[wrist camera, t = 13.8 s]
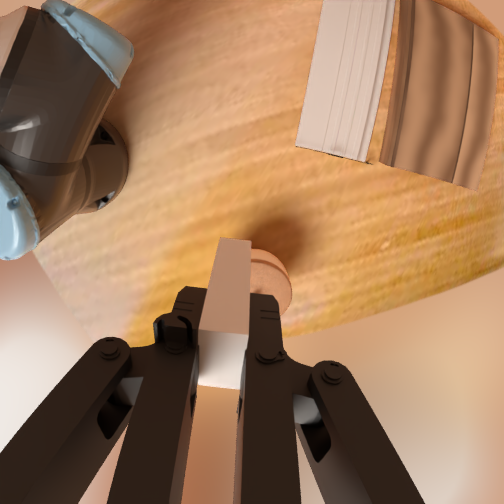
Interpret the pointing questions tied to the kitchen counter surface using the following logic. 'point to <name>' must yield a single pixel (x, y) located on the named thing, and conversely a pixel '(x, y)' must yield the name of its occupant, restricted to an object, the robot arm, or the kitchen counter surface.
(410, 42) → the grooved tan panel
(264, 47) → the kitchen counter surface
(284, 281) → the lidded jar
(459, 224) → the kitchen counter surface
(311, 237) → the kitchen counter surface
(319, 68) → the baseboard molding
